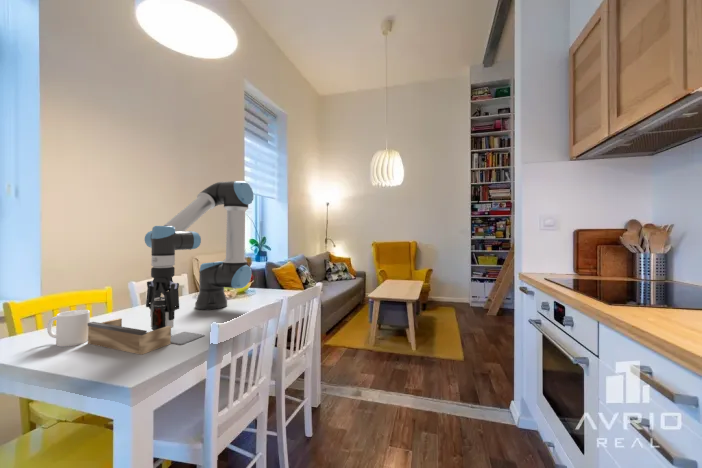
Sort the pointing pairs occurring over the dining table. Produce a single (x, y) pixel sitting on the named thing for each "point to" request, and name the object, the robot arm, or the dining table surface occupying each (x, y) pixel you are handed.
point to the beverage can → (158, 313)
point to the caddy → (127, 337)
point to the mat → (184, 337)
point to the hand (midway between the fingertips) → (162, 327)
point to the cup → (70, 327)
